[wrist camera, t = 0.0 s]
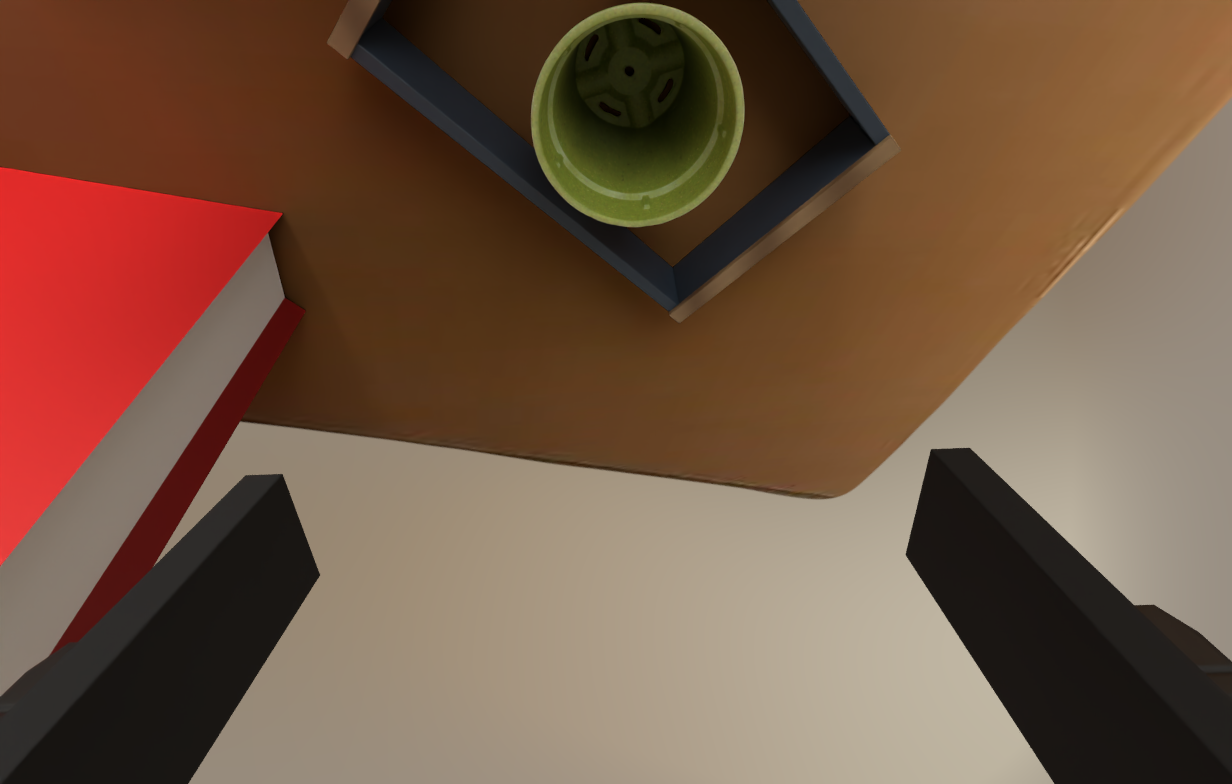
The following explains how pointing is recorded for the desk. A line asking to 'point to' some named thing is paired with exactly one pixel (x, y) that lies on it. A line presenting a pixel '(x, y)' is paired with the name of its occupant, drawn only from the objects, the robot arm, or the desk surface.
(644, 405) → the desk surface
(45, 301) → the book
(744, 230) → the open rectangular frame
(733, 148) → the plant pot
